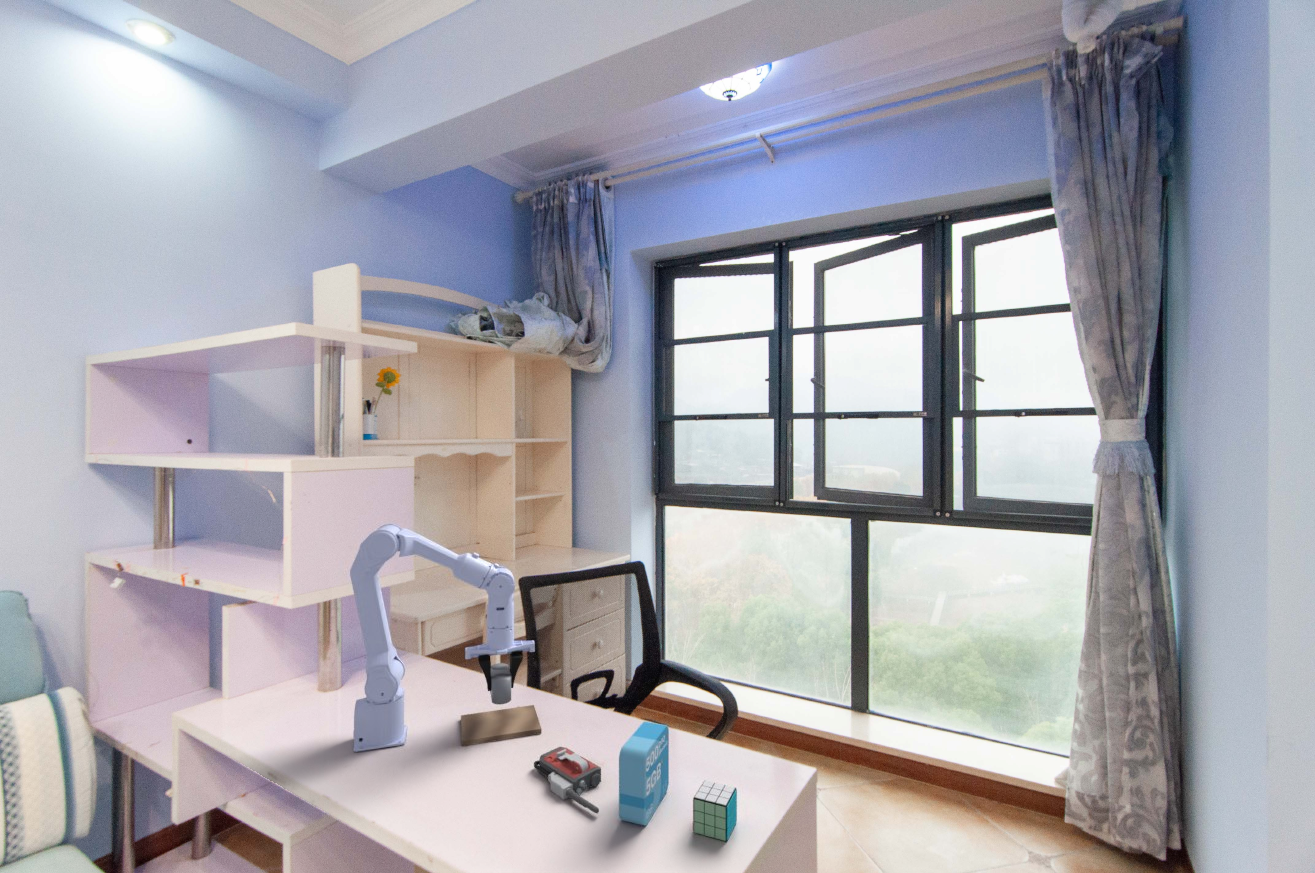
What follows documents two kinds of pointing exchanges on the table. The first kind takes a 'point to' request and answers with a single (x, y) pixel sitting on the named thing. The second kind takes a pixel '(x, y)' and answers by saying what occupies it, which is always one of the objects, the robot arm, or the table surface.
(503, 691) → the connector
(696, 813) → the puzzle toy
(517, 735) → the walnut board
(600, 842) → the table surface
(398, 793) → the table surface
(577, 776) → the walkie-talkie
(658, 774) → the data package
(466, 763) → the table surface
